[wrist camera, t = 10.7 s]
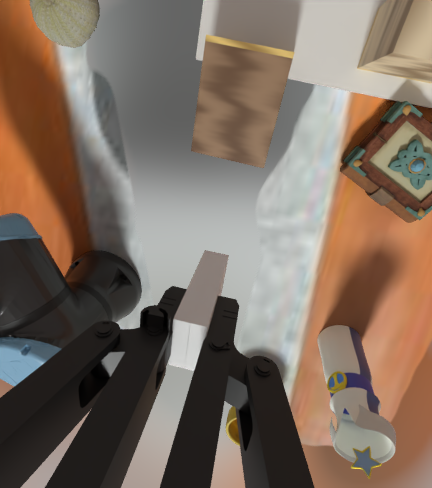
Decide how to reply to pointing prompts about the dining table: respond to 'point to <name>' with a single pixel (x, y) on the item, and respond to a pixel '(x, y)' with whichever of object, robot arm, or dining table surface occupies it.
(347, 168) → the decorative book
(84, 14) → the sea urchin shell
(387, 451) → the water bottle
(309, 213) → the dining table surface
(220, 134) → the walnut block
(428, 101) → the felt mat
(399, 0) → the oak block
